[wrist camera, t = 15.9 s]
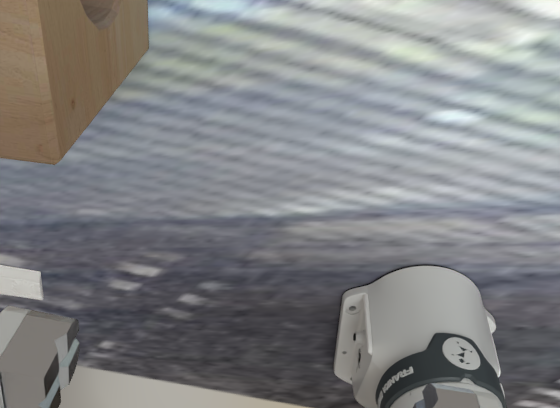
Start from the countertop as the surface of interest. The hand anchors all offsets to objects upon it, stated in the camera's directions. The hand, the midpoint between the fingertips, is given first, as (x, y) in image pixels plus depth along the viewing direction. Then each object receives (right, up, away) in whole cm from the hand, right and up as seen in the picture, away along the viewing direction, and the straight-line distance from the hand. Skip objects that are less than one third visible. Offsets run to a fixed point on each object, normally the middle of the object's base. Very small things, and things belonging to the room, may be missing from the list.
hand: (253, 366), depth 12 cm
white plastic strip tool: (-36, -4, +50) cm, 62 cm away
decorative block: (-13, +22, +30) cm, 40 cm away
